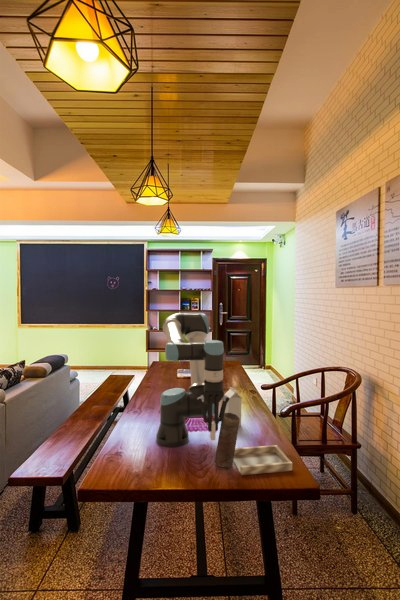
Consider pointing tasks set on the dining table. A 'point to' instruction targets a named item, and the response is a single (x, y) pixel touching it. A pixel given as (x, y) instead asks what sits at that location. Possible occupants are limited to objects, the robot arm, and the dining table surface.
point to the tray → (261, 460)
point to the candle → (227, 440)
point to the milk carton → (233, 403)
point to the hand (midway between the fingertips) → (212, 438)
